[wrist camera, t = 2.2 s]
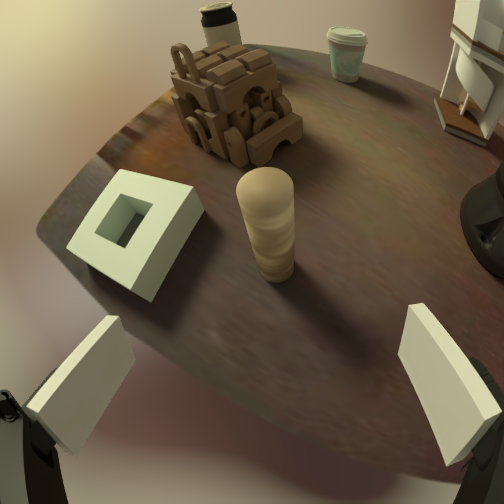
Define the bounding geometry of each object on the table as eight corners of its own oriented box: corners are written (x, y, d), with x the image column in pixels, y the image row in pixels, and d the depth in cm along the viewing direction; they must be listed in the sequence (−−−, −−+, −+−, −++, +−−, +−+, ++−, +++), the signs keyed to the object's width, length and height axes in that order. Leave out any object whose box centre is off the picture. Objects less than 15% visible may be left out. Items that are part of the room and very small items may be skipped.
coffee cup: (328, 84, 47) (328, 35, 36) (324, 68, 51) (324, 24, 40) (367, 88, 45) (372, 40, 35) (359, 71, 49) (363, 28, 38)
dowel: (292, 249, 32) (290, 165, 19) (295, 281, 30) (296, 209, 17) (258, 251, 32) (237, 169, 20) (259, 283, 30) (235, 213, 18)
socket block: (204, 209, 36) (193, 186, 32) (151, 302, 31) (130, 289, 27) (134, 188, 40) (119, 169, 36) (86, 262, 35) (66, 248, 31)
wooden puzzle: (311, 132, 41) (309, 27, 24) (243, 180, 38) (213, 61, 21) (228, 92, 50) (208, 15, 33) (169, 127, 47) (134, 47, 30)
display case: (433, 101, 42) (458, -32, 11) (471, 116, 40) (505, -7, 9) (443, 130, 38) (482, -26, 7) (484, 146, 35) (534, 8, 4)
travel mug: (251, 61, 56) (240, 0, 40) (236, 74, 53) (221, 8, 37) (224, 60, 58) (210, 3, 42) (208, 72, 55) (190, 12, 39)
